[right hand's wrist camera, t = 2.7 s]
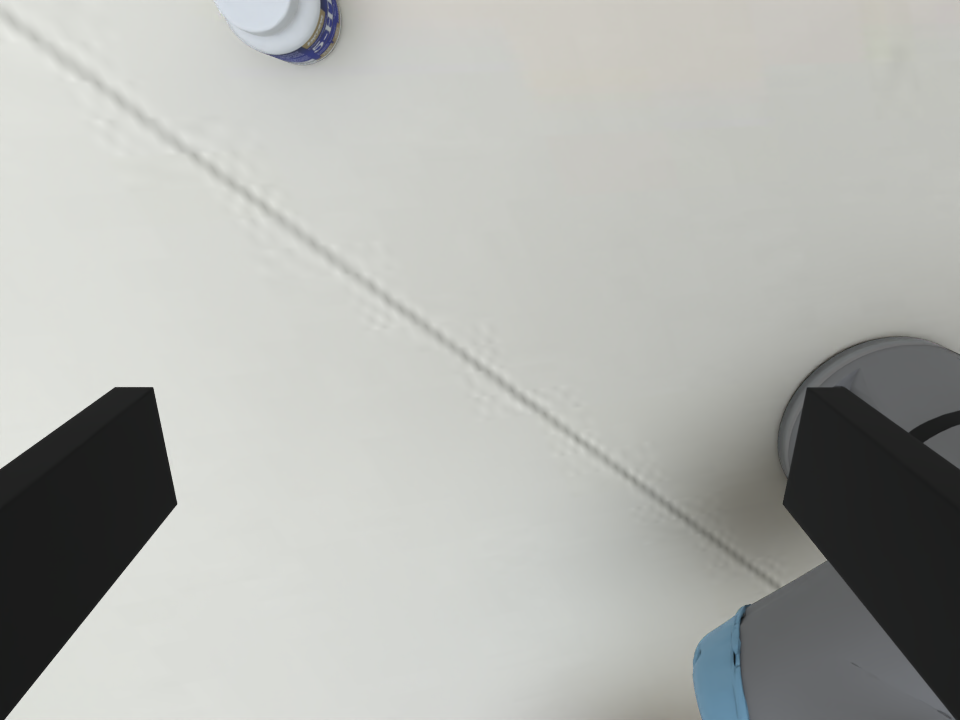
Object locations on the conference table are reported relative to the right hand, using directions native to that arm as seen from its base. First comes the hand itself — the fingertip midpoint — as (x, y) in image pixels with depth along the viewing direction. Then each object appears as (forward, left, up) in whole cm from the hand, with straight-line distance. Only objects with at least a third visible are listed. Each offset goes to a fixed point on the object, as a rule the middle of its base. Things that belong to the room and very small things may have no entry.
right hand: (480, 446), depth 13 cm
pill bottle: (+10, -14, -32) cm, 36 cm away
